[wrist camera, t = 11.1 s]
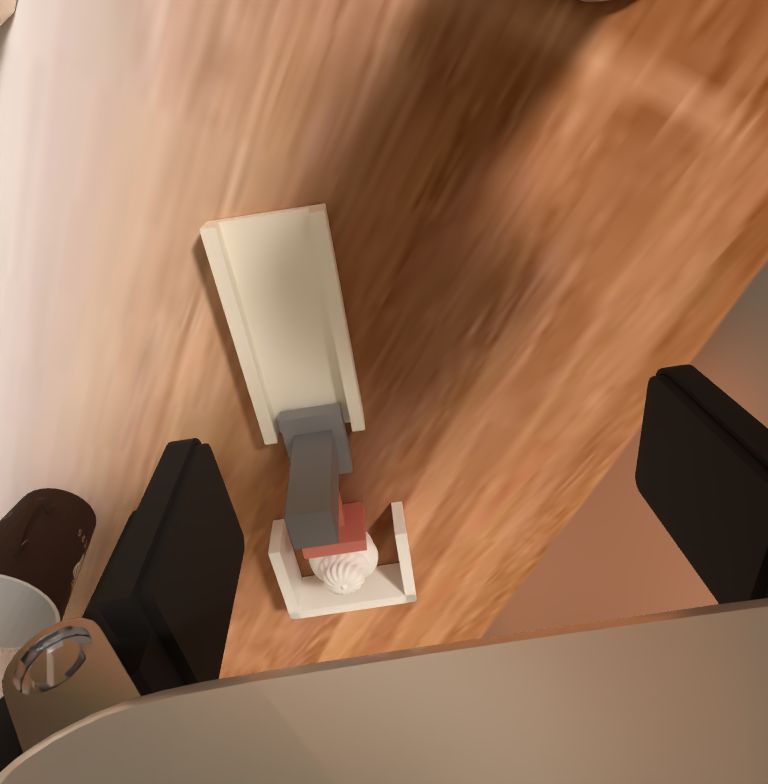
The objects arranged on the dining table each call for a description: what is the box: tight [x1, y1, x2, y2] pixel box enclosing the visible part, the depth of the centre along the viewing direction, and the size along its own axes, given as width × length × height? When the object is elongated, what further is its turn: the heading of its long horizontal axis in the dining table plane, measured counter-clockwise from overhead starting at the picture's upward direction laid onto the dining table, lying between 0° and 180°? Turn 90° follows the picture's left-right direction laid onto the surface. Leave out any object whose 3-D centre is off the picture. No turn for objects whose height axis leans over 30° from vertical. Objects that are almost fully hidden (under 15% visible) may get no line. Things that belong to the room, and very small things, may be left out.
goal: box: [268, 501, 417, 620], centre depth 50 cm, size 12×9×4 cm
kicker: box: [278, 403, 367, 559], centre depth 41 cm, size 5×12×10 cm, turn 8°
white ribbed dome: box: [309, 532, 378, 596], centre depth 48 cm, size 6×6×7 cm
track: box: [199, 203, 365, 445], centre depth 39 cm, size 8×17×2 cm, turn 8°
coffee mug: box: [0, 488, 96, 650], centre depth 43 cm, size 12×9×10 cm
